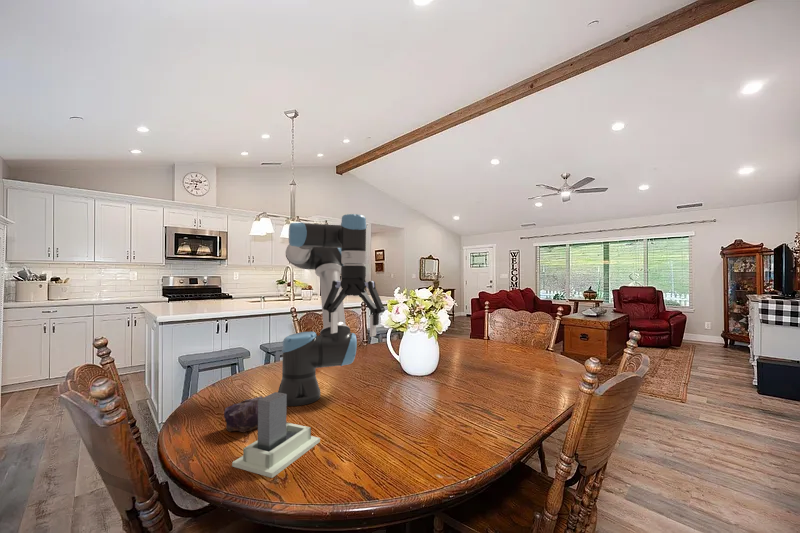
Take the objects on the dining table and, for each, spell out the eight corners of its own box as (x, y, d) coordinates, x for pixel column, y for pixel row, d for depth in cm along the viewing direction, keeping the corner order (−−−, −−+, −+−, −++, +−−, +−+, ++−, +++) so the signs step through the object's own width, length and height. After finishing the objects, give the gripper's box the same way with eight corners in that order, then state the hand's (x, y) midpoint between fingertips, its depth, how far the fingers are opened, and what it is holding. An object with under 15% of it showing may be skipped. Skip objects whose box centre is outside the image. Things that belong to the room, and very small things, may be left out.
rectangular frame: (232, 466, 82) (232, 449, 82) (284, 433, 99) (284, 419, 99) (272, 478, 78) (272, 459, 78) (320, 441, 94) (320, 426, 94)
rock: (227, 430, 104) (228, 444, 95) (222, 402, 104) (222, 413, 95) (268, 416, 109) (272, 428, 100) (263, 389, 109) (268, 399, 100)
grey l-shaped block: (257, 458, 84) (258, 400, 84) (288, 438, 94) (288, 386, 94) (269, 461, 83) (269, 402, 83) (298, 440, 93) (299, 387, 93)
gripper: (312, 265, 108) (311, 333, 108) (385, 264, 99) (385, 339, 99) (326, 265, 115) (325, 329, 115) (395, 265, 106) (395, 335, 106)
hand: (353, 334), depth 107 cm, fingers open, 13 cm apart
